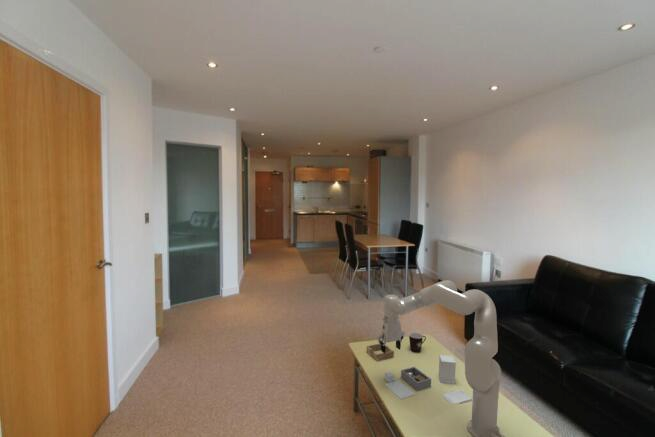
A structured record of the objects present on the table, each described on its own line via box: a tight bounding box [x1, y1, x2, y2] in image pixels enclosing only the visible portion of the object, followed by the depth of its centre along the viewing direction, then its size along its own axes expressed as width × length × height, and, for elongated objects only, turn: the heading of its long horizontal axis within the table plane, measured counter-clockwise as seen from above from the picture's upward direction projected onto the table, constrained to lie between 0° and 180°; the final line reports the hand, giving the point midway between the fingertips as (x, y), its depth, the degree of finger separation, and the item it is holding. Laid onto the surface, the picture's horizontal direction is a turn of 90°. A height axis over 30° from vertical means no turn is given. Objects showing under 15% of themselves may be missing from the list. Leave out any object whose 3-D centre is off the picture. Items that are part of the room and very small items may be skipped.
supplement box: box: [438, 354, 457, 385], centre depth 168 cm, size 7×7×13 cm
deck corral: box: [366, 342, 395, 362], centre depth 196 cm, size 12×12×4 cm
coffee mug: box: [408, 332, 427, 354], centre depth 202 cm, size 12×9×10 cm
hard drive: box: [440, 389, 473, 406], centre depth 154 cm, size 2×8×12 cm
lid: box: [384, 371, 416, 400], centre depth 161 cm, size 17×9×4 cm, turn 25°
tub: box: [400, 366, 432, 392], centre depth 166 cm, size 13×9×5 cm
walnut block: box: [414, 375, 426, 382], centre depth 163 cm, size 4×4×4 cm
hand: (390, 350), depth 165 cm, fingers open, 9 cm apart
